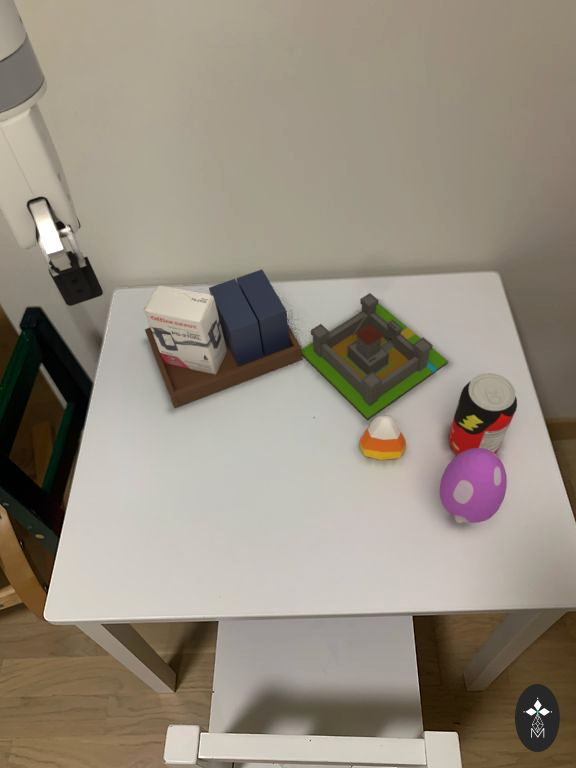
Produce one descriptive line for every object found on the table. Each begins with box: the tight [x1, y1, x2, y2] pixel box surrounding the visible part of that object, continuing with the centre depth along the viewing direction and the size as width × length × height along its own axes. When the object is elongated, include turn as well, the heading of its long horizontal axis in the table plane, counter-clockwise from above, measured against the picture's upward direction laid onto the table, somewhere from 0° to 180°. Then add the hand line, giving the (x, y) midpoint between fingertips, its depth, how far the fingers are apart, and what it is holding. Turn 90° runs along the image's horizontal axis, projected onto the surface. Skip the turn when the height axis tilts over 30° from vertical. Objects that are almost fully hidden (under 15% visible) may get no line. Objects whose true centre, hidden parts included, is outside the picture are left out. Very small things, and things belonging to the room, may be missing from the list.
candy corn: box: [358, 414, 407, 461], centre depth 74 cm, size 6×3×8 cm, turn 83°
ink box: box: [143, 285, 227, 375], centre depth 82 cm, size 8×5×12 cm, turn 73°
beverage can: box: [448, 372, 518, 456], centre depth 72 cm, size 6×6×12 cm
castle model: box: [301, 292, 449, 421], centre depth 83 cm, size 15×15×7 cm
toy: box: [438, 448, 508, 524], centre depth 65 cm, size 7×7×15 cm
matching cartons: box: [208, 269, 290, 367], centre depth 86 cm, size 8×9×8 cm
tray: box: [144, 324, 303, 409], centre depth 87 cm, size 20×14×3 cm
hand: (74, 263), depth 54 cm, fingers open, 9 cm apart
